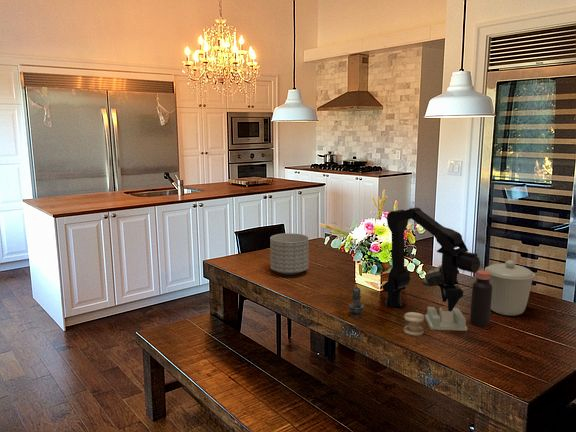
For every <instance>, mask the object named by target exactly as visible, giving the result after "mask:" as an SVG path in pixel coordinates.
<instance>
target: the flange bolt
mask: <svg viewBox="0 0 576 432" xmlns="http://www.w3.org/2000/svg"><path fill="white" fill-rule="evenodd" d="M351 297H352V301H351V303H349V304H348V307H349V310H350V312H349V313H348V314H350V315H351V317H354V318H360V316H361V317H362V316H363V315H364V313H362V311H363V310H364V308H365V307H364V304H363V303H361V298H362V296H361V288H360V287H359V286H358V285H356V286H355V287H354V288H352V296H351ZM350 315H349V316H350Z"/></svg>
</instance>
